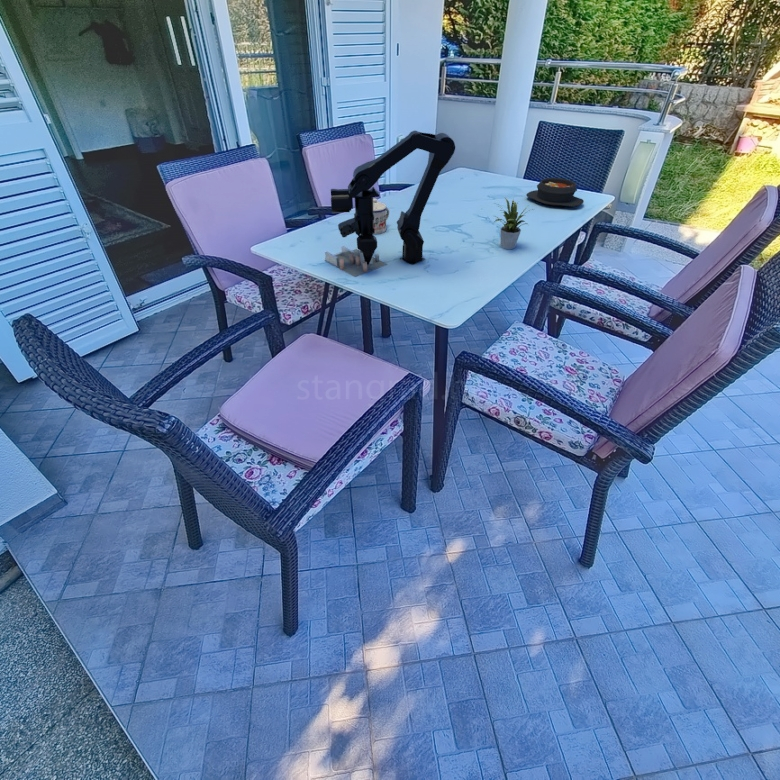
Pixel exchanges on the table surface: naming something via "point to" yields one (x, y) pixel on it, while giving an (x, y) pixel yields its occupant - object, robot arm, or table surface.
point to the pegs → (357, 261)
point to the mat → (358, 270)
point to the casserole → (556, 192)
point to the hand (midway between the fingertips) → (366, 258)
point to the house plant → (510, 226)
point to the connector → (363, 258)
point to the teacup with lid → (380, 216)
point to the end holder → (334, 258)
